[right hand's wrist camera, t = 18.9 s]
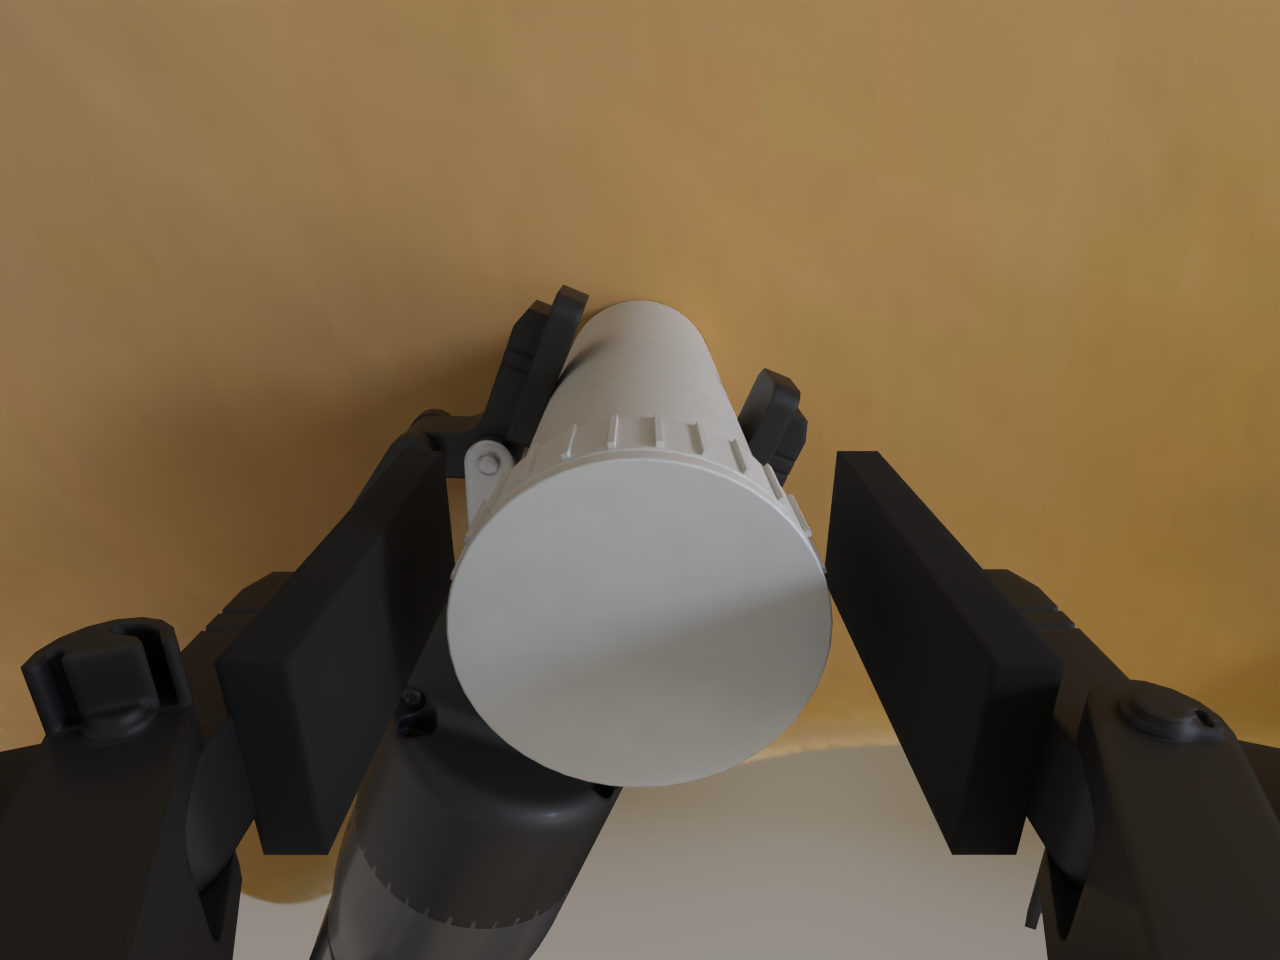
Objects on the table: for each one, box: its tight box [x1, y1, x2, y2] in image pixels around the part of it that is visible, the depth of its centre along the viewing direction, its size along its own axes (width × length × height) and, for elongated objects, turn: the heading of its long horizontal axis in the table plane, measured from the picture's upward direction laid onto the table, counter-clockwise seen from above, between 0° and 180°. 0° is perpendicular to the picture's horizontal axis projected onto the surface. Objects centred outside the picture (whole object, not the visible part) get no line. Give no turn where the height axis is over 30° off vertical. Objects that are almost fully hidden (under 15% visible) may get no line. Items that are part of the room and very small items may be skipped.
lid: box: [446, 413, 833, 787], centre depth 11 cm, size 6×6×2 cm
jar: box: [526, 300, 752, 456], centre depth 18 cm, size 5×5×15 cm
